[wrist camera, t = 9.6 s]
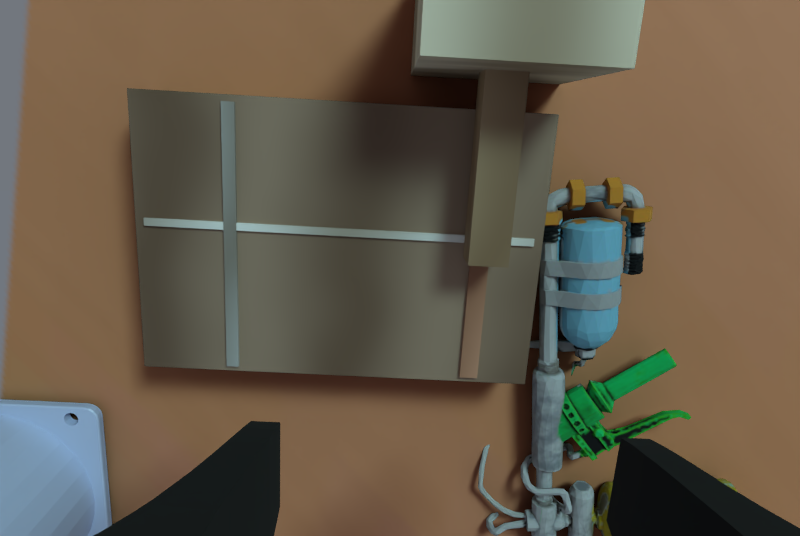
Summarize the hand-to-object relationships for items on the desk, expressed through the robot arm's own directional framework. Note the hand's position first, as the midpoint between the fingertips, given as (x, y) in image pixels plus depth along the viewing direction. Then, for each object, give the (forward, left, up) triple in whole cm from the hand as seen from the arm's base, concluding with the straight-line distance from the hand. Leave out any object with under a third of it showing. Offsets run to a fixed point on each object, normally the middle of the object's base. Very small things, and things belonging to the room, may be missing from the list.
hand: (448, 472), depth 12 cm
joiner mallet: (+2, +7, -10) cm, 12 cm away
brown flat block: (-3, +3, -9) cm, 10 cm away
